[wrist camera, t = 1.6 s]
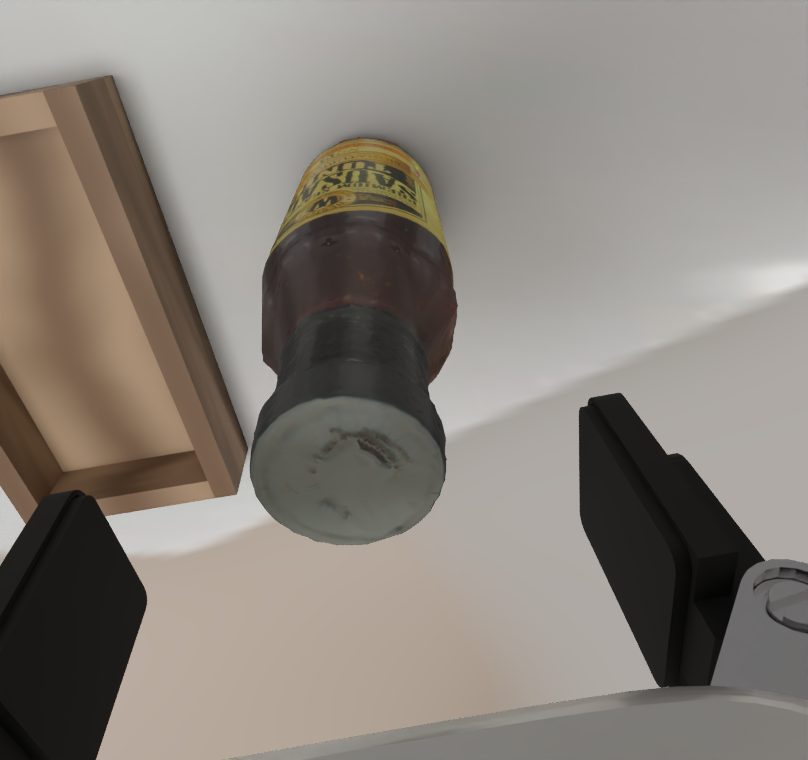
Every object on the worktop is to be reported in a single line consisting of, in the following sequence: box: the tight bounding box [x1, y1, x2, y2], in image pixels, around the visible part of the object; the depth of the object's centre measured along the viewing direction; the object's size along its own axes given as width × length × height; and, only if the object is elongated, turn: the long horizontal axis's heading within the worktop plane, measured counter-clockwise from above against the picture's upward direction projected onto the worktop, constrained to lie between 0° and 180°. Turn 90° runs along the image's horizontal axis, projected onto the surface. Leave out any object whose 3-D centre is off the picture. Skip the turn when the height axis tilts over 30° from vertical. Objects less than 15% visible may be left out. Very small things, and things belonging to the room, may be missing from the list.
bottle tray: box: [0, 75, 248, 524], centre depth 29 cm, size 11×20×4 cm, turn 9°
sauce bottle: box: [250, 137, 458, 545], centre depth 21 cm, size 7×6×20 cm
